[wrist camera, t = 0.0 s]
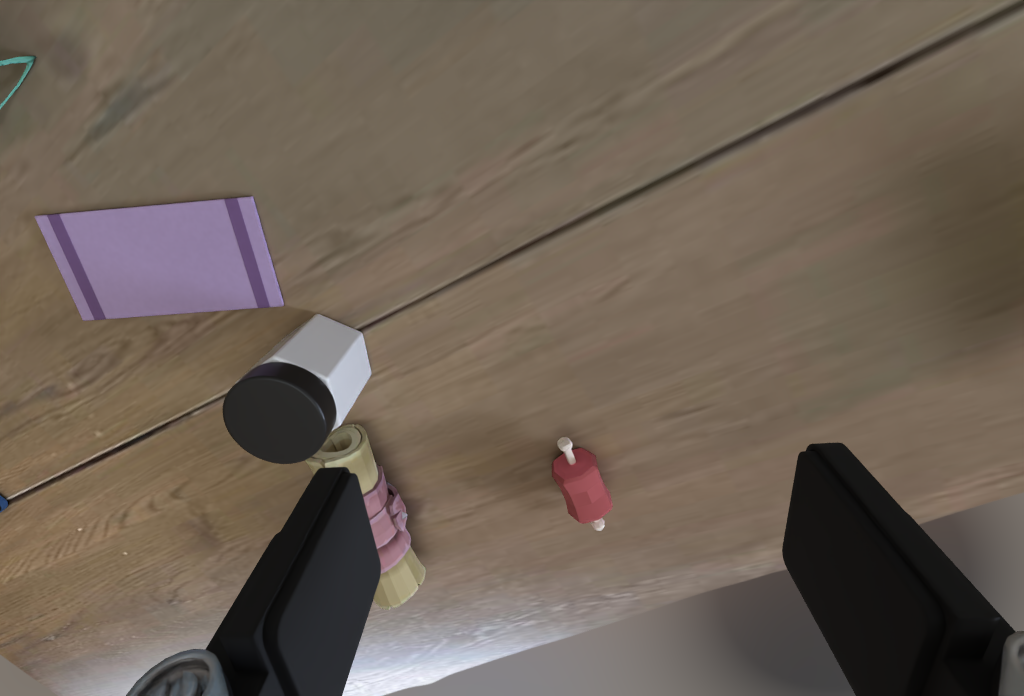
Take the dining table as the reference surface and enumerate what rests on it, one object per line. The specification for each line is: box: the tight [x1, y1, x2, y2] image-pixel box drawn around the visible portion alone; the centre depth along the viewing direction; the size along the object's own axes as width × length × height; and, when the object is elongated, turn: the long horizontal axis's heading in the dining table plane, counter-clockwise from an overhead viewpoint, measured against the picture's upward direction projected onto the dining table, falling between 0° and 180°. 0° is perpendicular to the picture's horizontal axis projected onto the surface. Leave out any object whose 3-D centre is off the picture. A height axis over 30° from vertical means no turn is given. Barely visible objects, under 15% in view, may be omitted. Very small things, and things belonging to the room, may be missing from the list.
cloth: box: [35, 196, 284, 321], centre depth 48 cm, size 10×20×1 cm, turn 95°
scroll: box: [305, 424, 426, 610], centre depth 56 cm, size 8×8×20 cm
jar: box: [223, 314, 371, 464], centre depth 46 cm, size 9×8×12 cm
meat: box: [552, 437, 613, 530], centre depth 54 cm, size 12×5×5 cm, turn 21°
